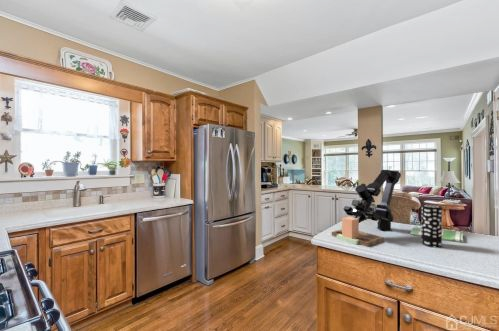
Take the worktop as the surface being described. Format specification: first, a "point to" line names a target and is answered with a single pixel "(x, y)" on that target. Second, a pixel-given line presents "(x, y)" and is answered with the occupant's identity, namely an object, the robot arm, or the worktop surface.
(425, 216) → the spotted tube
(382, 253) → the worktop surface
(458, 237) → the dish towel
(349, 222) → the terracotta block
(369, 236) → the walnut board
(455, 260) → the worktop surface
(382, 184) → the robot arm
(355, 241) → the green end pad
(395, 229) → the worktop surface
